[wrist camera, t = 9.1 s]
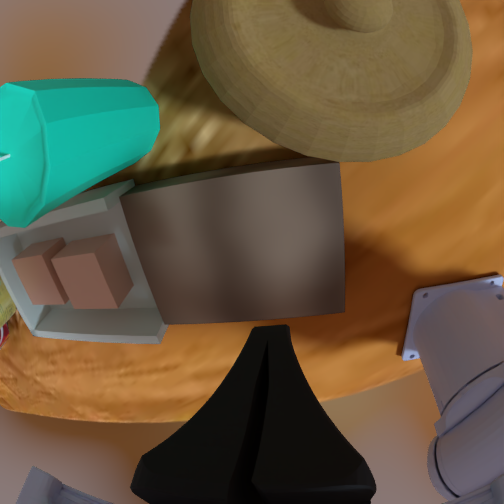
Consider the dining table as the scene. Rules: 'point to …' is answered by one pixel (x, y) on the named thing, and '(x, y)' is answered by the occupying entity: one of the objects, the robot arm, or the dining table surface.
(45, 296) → the tile
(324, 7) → the pot
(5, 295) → the sauce bottle
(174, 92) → the dining table surface
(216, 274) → the grey slab
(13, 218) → the candle
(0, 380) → the dining table surface
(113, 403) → the dining table surface
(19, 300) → the tray
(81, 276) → the tile
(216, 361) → the dining table surface
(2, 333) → the soda can
